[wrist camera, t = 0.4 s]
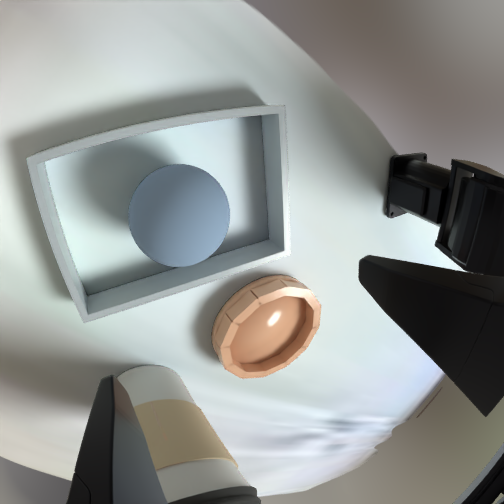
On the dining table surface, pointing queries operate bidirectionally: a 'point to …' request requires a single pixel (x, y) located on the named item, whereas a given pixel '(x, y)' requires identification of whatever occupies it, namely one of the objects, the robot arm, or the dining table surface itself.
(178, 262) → the ball
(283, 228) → the shallow serving tray
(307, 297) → the bowl
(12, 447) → the dining table surface
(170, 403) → the coffee cup
